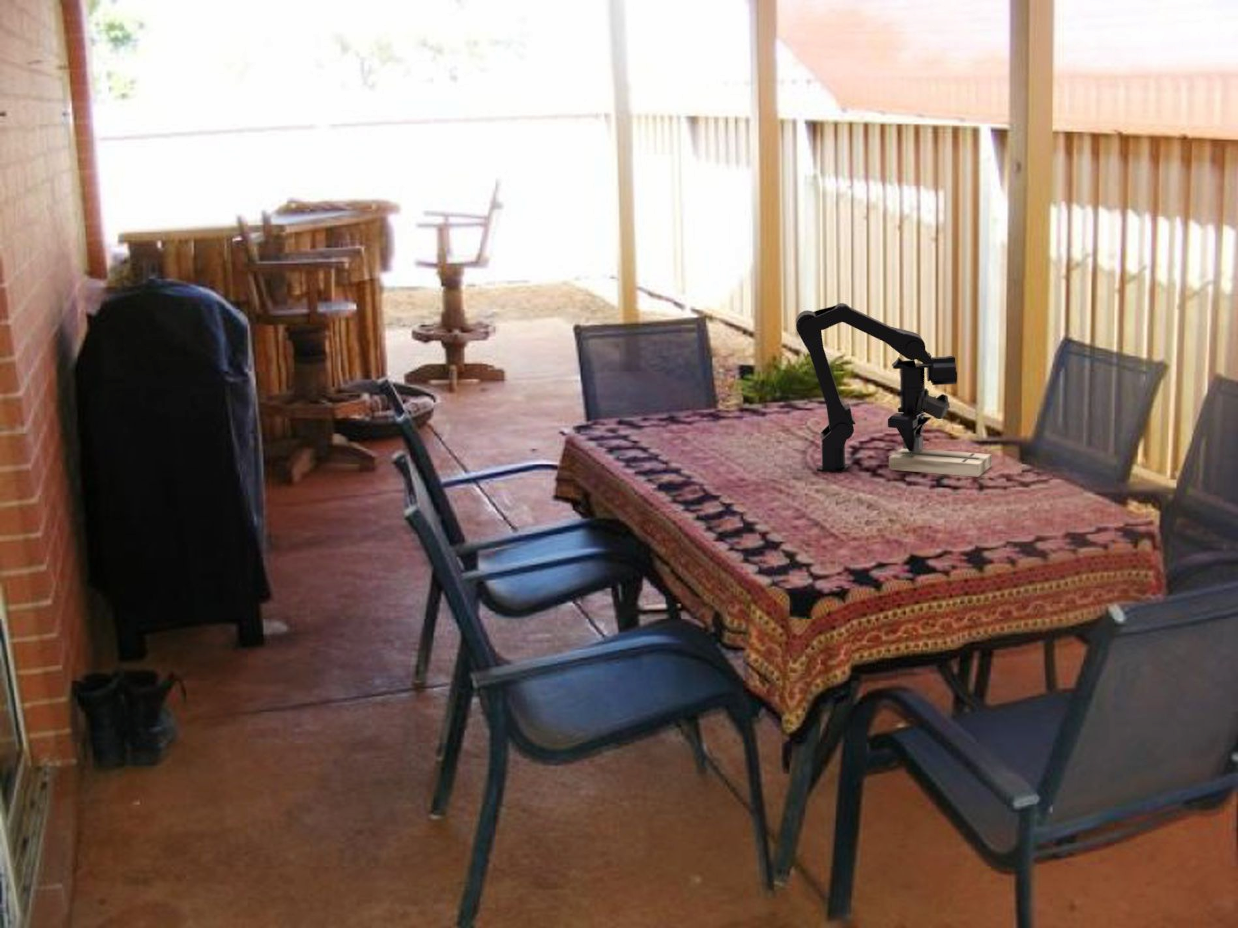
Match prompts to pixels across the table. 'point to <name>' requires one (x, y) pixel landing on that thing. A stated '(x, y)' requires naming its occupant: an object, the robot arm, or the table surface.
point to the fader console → (940, 462)
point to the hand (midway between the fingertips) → (913, 449)
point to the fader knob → (916, 443)
